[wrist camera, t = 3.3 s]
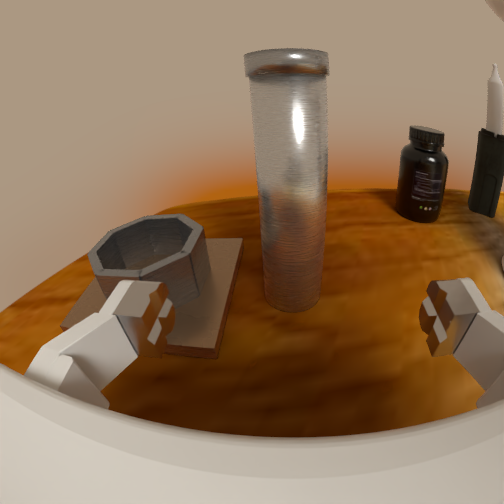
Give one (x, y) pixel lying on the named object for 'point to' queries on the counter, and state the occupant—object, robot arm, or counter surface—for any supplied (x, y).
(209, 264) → the duct collar
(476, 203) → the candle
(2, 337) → the counter surface
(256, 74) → the grey tall capped cylinder
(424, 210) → the supplement bottle
